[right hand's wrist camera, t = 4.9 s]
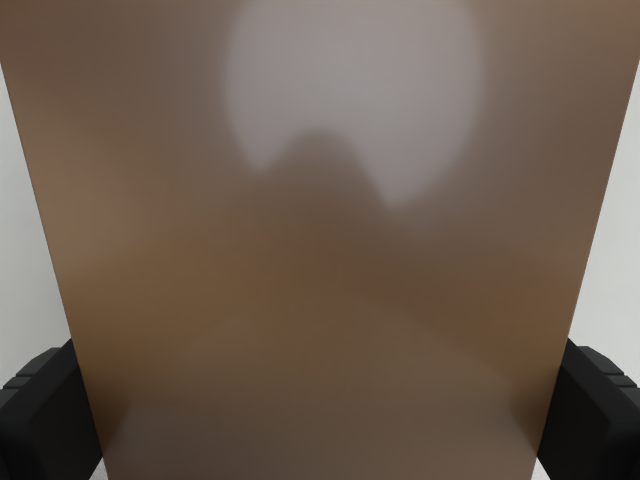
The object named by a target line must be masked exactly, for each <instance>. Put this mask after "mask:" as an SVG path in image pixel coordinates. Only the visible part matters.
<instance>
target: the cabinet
mask: <svg viewBox="0 0 640 480" xmlns="http://www.w3.org/2000/svg"><path fill="white" fill-rule="evenodd" d="M639 60H640V0H0V63H1V67H2V71H3V75H4V79H5V83H6V86H7V90H8V94H9V98H10V102H11V106H12V110H13V113H14V117H15V121H16V125H17V129H18V133H19V137H20V140H21V144H22V148H23V152H24V156H25V160H26V164H27V167H28V171H29V175H30V179H31V183H32V187H33V191H34V194H35V198H36V202H37V206H38V210H39V214H40V218H41V221H42V225H43V229H44V233H45V237H46V241H47V245H48V248H49V252H50V256H51V260H52V264H53V268H54V272H55V275H56V279H57V283H58V287H59V291H60V295H61V299H62V302H63V306H64V310H65V314H66V318H67V322H68V326H69V329H70V333H71V337H72V341H73V345H74V349H75V353H76V357H77V360H78V364H79V368H80V372H81V376H82V380H83V384H84V387H85V391H86V395H87V399H88V403H89V407H90V411H91V414H92V418H93V422H94V426H95V430H96V434H97V438H98V441H99V445H100V449H101V453H102V457H103V461H104V465H105V468H106V472H107V476H108V480H531V478H532V474H533V470H534V466H535V462H536V458H537V455H538V451H539V447H540V443H541V439H542V435H543V431H544V427H545V424H546V420H547V416H548V412H549V408H550V404H551V400H552V396H553V393H554V389H555V385H556V381H557V377H558V373H559V369H560V366H561V362H562V358H563V354H564V350H565V346H566V342H567V338H568V335H569V331H570V327H571V323H572V319H573V315H574V311H575V307H576V304H577V300H578V296H579V292H580V288H581V284H582V280H583V276H584V273H585V269H586V265H587V261H588V257H589V253H590V249H591V246H592V242H593V238H594V234H595V230H596V226H597V222H598V218H599V215H600V211H601V207H602V203H603V199H604V195H605V191H606V187H607V184H608V180H609V176H610V172H611V168H612V164H613V160H614V157H615V153H616V149H617V145H618V141H619V137H620V133H621V129H622V126H623V122H624V118H625V114H626V110H627V106H628V102H629V98H630V95H631V91H632V87H633V83H634V79H635V75H636V71H637V68H638V64H639Z"/></svg>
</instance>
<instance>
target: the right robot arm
mask: <svg viewBox="0 0 640 480" xmlns="http://www.w3.org/2000/svg"><path fill="white" fill-rule="evenodd" d="M537 458H538V459H539V461H540V463H541V464H542V466H543V468H544V470H545V471H546V473H547V475H548V476H549V478H550V480H640V388H638V387H637V384H636V383H634V382H633V381H632V380H631V379H630V378H629V377H628V376H625V375H624V372H623V371H622V370H620V369H619V368H618V367H617V366H616V365H615V364H614V363H613V362H612V361H611V360H610V359H609V358H607V357H605V356H604V355H602V354H600V353H598V352H597V351H595V350H593V349H592V348H590V347H588V346H576V345H575V344H574V343H573V342H572V341H571V340H570V339H569V338H567V342H566V346H565V350H564V354H563V358H562V362H561V366H560V369H559V373H558V377H557V381H556V385H555V389H554V393H553V396H552V400H551V404H550V408H549V412H548V416H547V420H546V424H545V427H544V431H543V435H542V439H541V443H540V447H539V451H538V455H537ZM101 459H102V453H101V449H100V445H99V441H98V438H97V434H96V430H95V426H94V422H93V418H92V414H91V411H90V407H89V403H88V399H87V395H86V391H85V387H84V384H83V380H82V376H81V372H80V368H79V364H78V360H77V357H76V353H75V349H74V345H73V341H72V337H71V338H70V339H69V340H68V341H67V342H66V343H65V344H64V345H63V346H62V347H61V348H51V349H49V350H47V351H46V352H44V353H42V354H40V355H39V356H37V357H35V358H34V359H32V360H31V361H30V362H28V363H27V364H26V365H25V366H24V367H23V368H22V369H21V370H20V371H19V372H18V373H17V374H16V377H12V378H11V379H10V380H9V381H8V382H7V383H6V384H5V385H4V386H3V389H0V480H89V479H90V477H91V476H92V474H93V472H94V470H95V469H96V467H97V465H98V464H99V462H100V460H101Z"/></svg>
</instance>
